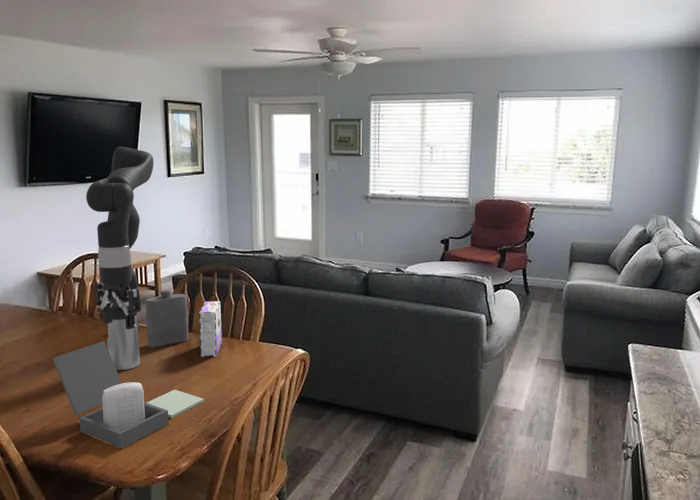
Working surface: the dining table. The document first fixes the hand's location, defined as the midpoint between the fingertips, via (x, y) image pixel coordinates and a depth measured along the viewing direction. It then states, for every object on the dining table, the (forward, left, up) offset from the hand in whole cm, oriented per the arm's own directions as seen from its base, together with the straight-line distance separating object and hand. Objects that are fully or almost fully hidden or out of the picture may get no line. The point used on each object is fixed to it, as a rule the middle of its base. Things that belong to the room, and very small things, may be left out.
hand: (119, 325), depth 148 cm
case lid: (-13, 0, -17) cm, 21 cm away
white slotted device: (0, 0, -28) cm, 28 cm away
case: (0, 0, -28) cm, 28 cm away
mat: (0, +16, -28) cm, 33 cm away
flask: (-41, +51, -28) cm, 72 cm away
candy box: (-22, +54, -28) cm, 65 cm away
